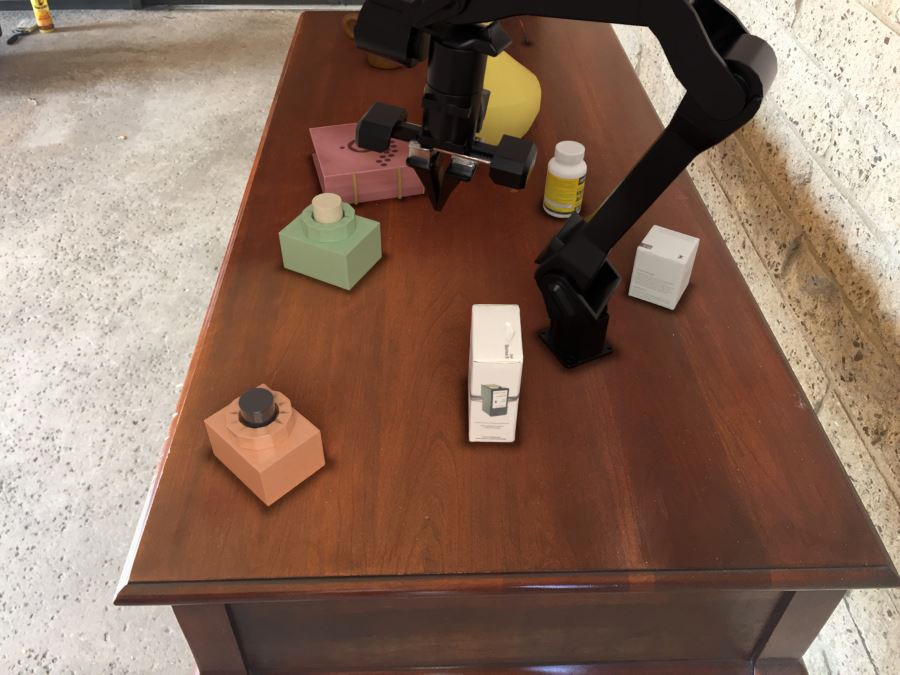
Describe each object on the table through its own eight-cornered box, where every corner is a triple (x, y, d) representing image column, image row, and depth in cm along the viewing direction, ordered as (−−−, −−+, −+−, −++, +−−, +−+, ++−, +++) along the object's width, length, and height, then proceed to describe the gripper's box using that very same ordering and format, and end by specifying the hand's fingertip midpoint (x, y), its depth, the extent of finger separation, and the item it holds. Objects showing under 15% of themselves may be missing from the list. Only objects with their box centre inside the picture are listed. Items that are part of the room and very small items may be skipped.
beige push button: (348, 213, 98) (347, 197, 96) (332, 227, 95) (330, 211, 94) (324, 206, 99) (322, 190, 97) (308, 220, 96) (306, 203, 95)
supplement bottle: (579, 221, 110) (588, 159, 103) (540, 216, 110) (547, 154, 104) (582, 201, 114) (591, 140, 107) (545, 196, 114) (551, 135, 108)
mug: (342, 70, 145) (338, 19, 139) (345, 54, 151) (341, 4, 144) (407, 70, 146) (405, 19, 139) (407, 54, 151) (406, 4, 145)
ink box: (466, 382, 86) (470, 301, 78) (511, 383, 86) (519, 302, 78) (467, 443, 80) (471, 360, 72) (515, 443, 80) (525, 361, 72)
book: (327, 210, 111) (324, 179, 107) (312, 157, 122) (309, 128, 118) (425, 196, 114) (425, 166, 110) (402, 146, 125) (401, 117, 121)
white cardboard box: (688, 285, 99) (701, 237, 94) (673, 311, 95) (686, 263, 90) (643, 270, 102) (653, 222, 97) (626, 295, 98) (636, 247, 93)
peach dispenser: (325, 464, 77) (318, 417, 73) (268, 506, 74) (256, 460, 69) (270, 417, 82) (260, 370, 77) (213, 454, 78) (199, 407, 73)
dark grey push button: (283, 415, 73) (280, 399, 72) (255, 433, 72) (251, 418, 70) (263, 397, 75) (259, 382, 74) (235, 415, 73) (231, 400, 72)
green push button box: (382, 257, 103) (379, 208, 98) (349, 290, 98) (344, 241, 92) (318, 236, 106) (313, 188, 101) (283, 267, 101) (276, 219, 96)
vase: (411, 159, 122) (408, 37, 109) (439, 107, 135) (440, -7, 122) (526, 175, 119) (538, 52, 106) (544, 120, 132) (556, 4, 119)
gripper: (560, 69, 82) (532, 192, 93) (393, 28, 84) (385, 153, 95) (539, 119, 74) (511, 247, 85) (355, 72, 76) (351, 202, 87)
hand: (438, 209), depth 88 cm, fingers closed
